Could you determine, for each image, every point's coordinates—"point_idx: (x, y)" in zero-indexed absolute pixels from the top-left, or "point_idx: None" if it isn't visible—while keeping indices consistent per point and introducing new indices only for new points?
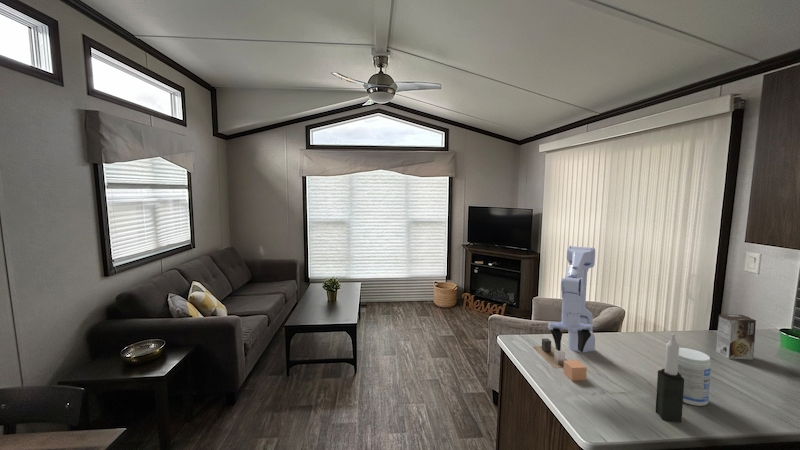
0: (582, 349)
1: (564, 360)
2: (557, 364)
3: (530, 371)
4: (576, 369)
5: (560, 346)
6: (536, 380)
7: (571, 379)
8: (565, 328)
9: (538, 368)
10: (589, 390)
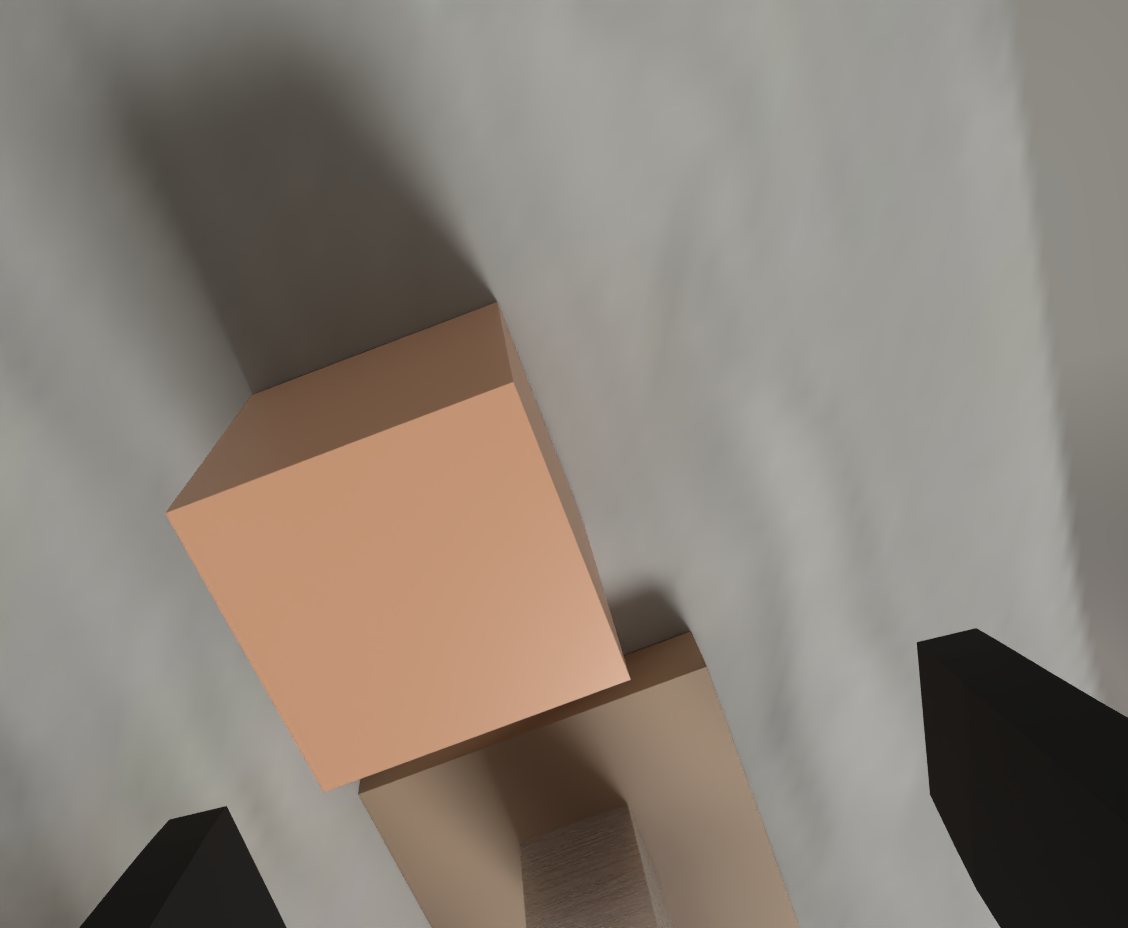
0: (145, 875)
1: (524, 889)
2: (635, 794)
3: (1053, 545)
4: (409, 406)
5: (1021, 717)
6: (1039, 286)
7: (503, 328)
8: None
9: (908, 668)
10: (220, 190)
